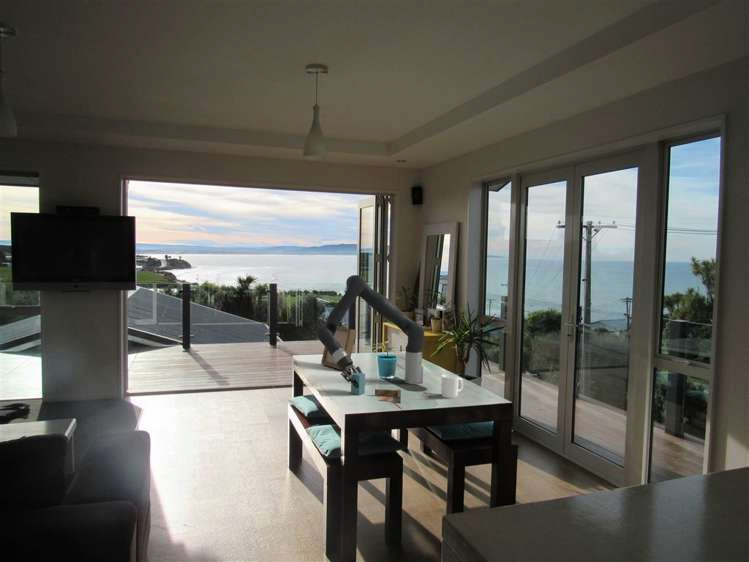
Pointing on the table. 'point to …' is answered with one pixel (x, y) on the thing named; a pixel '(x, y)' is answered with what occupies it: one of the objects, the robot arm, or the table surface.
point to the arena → (388, 394)
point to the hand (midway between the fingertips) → (361, 385)
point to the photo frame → (344, 339)
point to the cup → (450, 386)
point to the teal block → (361, 381)
